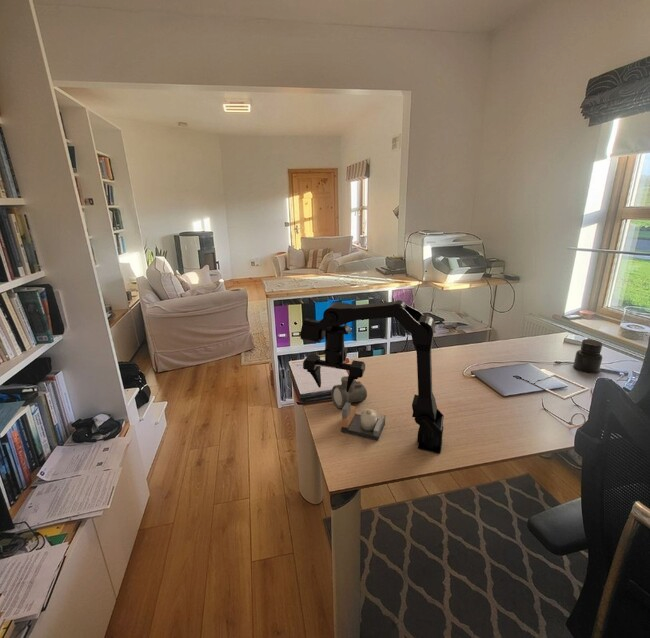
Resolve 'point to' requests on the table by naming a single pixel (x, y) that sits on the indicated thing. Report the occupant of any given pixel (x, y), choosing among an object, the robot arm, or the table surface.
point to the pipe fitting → (348, 393)
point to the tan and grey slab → (347, 414)
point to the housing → (368, 419)
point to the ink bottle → (589, 356)
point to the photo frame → (565, 380)
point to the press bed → (359, 431)
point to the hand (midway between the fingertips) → (333, 389)
